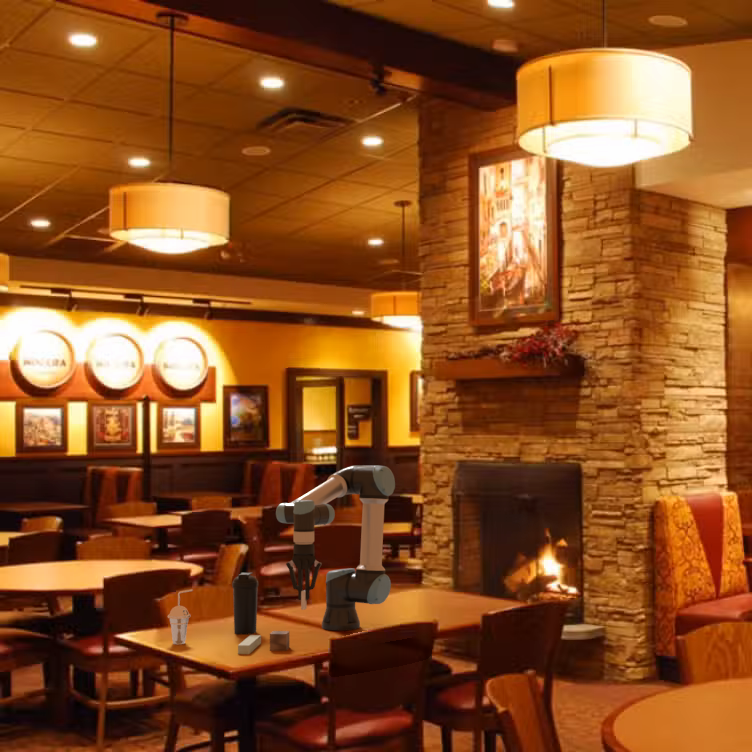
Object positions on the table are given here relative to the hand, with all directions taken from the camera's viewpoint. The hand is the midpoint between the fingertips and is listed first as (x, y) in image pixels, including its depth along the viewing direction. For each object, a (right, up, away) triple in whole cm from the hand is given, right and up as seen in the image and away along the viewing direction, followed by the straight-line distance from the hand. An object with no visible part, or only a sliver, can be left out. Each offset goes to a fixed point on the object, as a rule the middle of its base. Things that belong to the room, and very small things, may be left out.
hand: (303, 608), depth 403 cm
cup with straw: (-47, -16, +12) cm, 51 cm away
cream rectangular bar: (-20, -15, +2) cm, 25 cm away
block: (-9, -15, 0) cm, 17 cm away
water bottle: (-25, -17, +34) cm, 45 cm away
